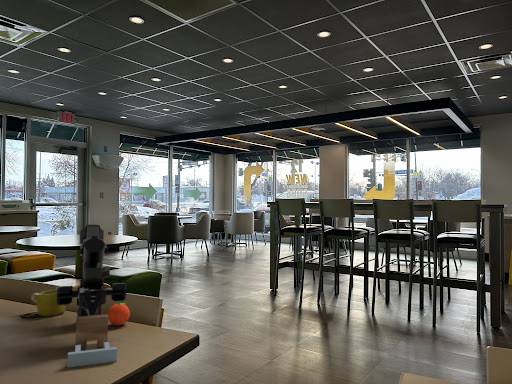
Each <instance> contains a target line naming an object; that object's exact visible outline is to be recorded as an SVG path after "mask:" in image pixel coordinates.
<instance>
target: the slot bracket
mask: <svg viewBox="0 0 512 384" xmlns="http://www.w3.org/2000/svg"><path fill="white" fill-rule="evenodd" d="M110 345H111V344H110V341H107V342H104V347H103V348H97V349H95V350H86V349H85V350H82V349H81V345H74V351H70V352H67V365H66V366H67V368H75V367H83V366H89V365H90V366H91V365H98V364H107V363H113V362H114V363H115V362H117V361H118V347H117V346H113V347H111V346H110Z"/></svg>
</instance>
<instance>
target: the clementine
mask: <svg viewBox="0 0 512 384" xmlns="http://www.w3.org/2000/svg"><path fill="white" fill-rule="evenodd" d="M128 306H129V307H130V308H132V307H131V305H130V304H128V305H127V303H124V302H123V303H122V302H121V303H120V302H119V303H115V304H113V305H112V306H111V307H110V308H109V309H108V311H107V314H108V322H109V323H110V324H111V325H114V326H122V325H124V324H125V323H127V321H128V320H129V318H130V315H131V312H130V308H129V307H128Z"/></svg>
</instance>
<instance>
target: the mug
mask: <svg viewBox="0 0 512 384" xmlns="http://www.w3.org/2000/svg"><path fill="white" fill-rule="evenodd" d="M30 300H31V301H32V303H33V304H34V305H35V307H36V309H37V314H38V315H39V316H40V317H41V316H42V317H49V318H50V317H54V316H58V315H60V314H63V313H64V312H65V311H66V305H57V289H50V290H45V291H41V292H40V293H39V292H35V293H33V294H31V295H30Z"/></svg>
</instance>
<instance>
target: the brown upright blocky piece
mask: <svg viewBox="0 0 512 384" xmlns="http://www.w3.org/2000/svg"><path fill="white" fill-rule="evenodd" d="M75 319H76V320H75V324H76V325H75V345H81V350H85V351H86V350H95V349H98V348H104V342H108V335H109V334H108V333H109V319H108V313H105V314H101V315H91V316H78V317H77V316H76V318H75ZM75 345H74V346H75Z"/></svg>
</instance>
